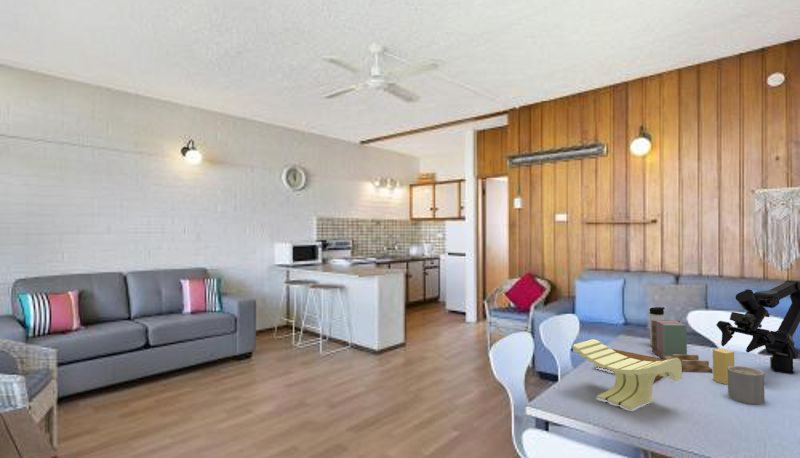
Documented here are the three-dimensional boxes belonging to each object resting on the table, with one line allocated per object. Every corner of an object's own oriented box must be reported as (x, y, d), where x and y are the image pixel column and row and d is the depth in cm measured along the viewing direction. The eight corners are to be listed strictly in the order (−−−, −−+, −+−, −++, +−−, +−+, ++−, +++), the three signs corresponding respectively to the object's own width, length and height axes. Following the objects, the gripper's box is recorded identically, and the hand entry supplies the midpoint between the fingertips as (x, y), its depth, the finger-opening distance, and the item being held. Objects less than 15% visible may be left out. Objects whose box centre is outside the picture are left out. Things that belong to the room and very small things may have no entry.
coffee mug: (759, 406, 143) (758, 377, 143) (723, 397, 151) (723, 369, 151) (771, 396, 151) (770, 368, 151) (737, 388, 159) (736, 361, 159)
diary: (671, 373, 178) (671, 360, 178) (653, 385, 166) (653, 370, 166) (614, 360, 196) (614, 348, 195) (595, 370, 184) (595, 357, 184)
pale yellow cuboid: (721, 378, 169) (720, 348, 169) (734, 383, 164) (734, 352, 164) (713, 380, 168) (712, 349, 168) (726, 384, 163) (725, 353, 163)
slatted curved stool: (682, 408, 143) (681, 356, 143) (658, 421, 134) (657, 365, 134) (598, 382, 168) (597, 337, 168) (574, 392, 159) (573, 344, 159)
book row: (677, 350, 202) (676, 320, 202) (687, 356, 193) (686, 325, 193) (656, 349, 204) (656, 320, 204) (665, 355, 195) (664, 325, 195)
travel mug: (664, 349, 210) (663, 308, 210) (649, 347, 214) (648, 307, 214) (666, 346, 215) (665, 306, 215) (651, 344, 219) (650, 305, 218)
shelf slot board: (679, 352, 204) (678, 320, 204) (712, 372, 176) (711, 335, 176) (652, 352, 206) (651, 320, 206) (680, 371, 178) (679, 334, 178)
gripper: (718, 301, 178) (700, 330, 175) (769, 309, 161) (749, 341, 157) (732, 318, 181) (714, 347, 177) (783, 328, 163) (764, 360, 160)
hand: (734, 348), depth 168 cm, fingers open, 9 cm apart
